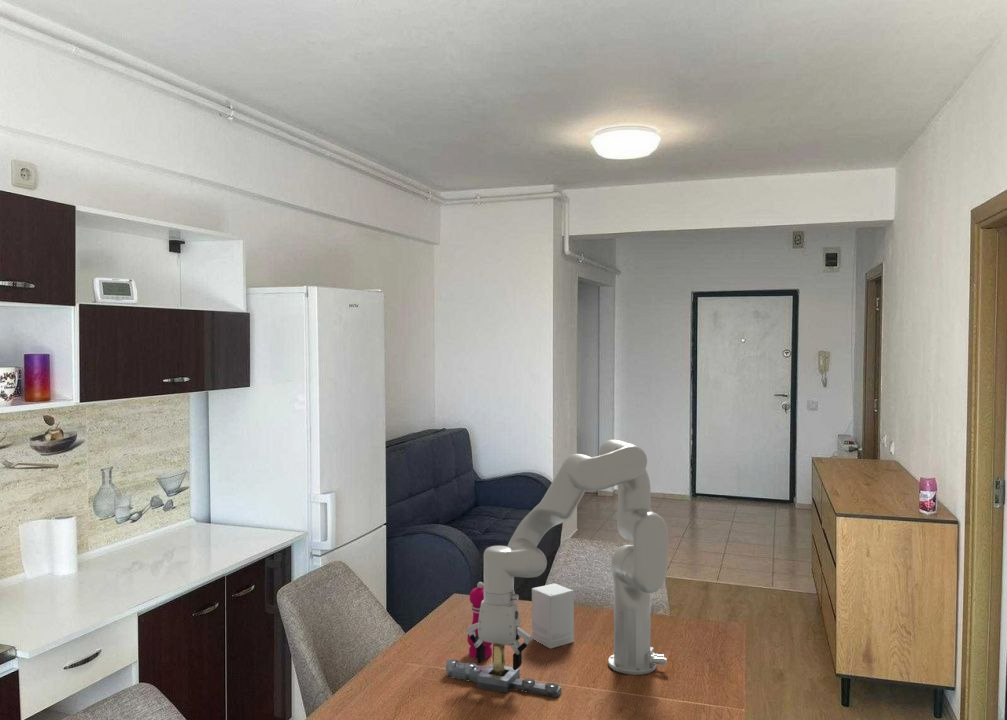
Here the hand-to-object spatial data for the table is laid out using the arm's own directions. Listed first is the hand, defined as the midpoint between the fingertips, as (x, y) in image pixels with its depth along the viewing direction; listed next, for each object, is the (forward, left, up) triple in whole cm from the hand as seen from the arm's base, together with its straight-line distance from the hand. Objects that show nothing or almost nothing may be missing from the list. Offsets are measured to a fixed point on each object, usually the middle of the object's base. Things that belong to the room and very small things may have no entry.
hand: (498, 664), depth 194 cm
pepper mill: (+12, -15, -5) cm, 20 cm away
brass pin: (0, 0, -5) cm, 5 cm away
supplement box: (-3, -32, -5) cm, 33 cm away
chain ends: (0, 0, -5) cm, 5 cm away
